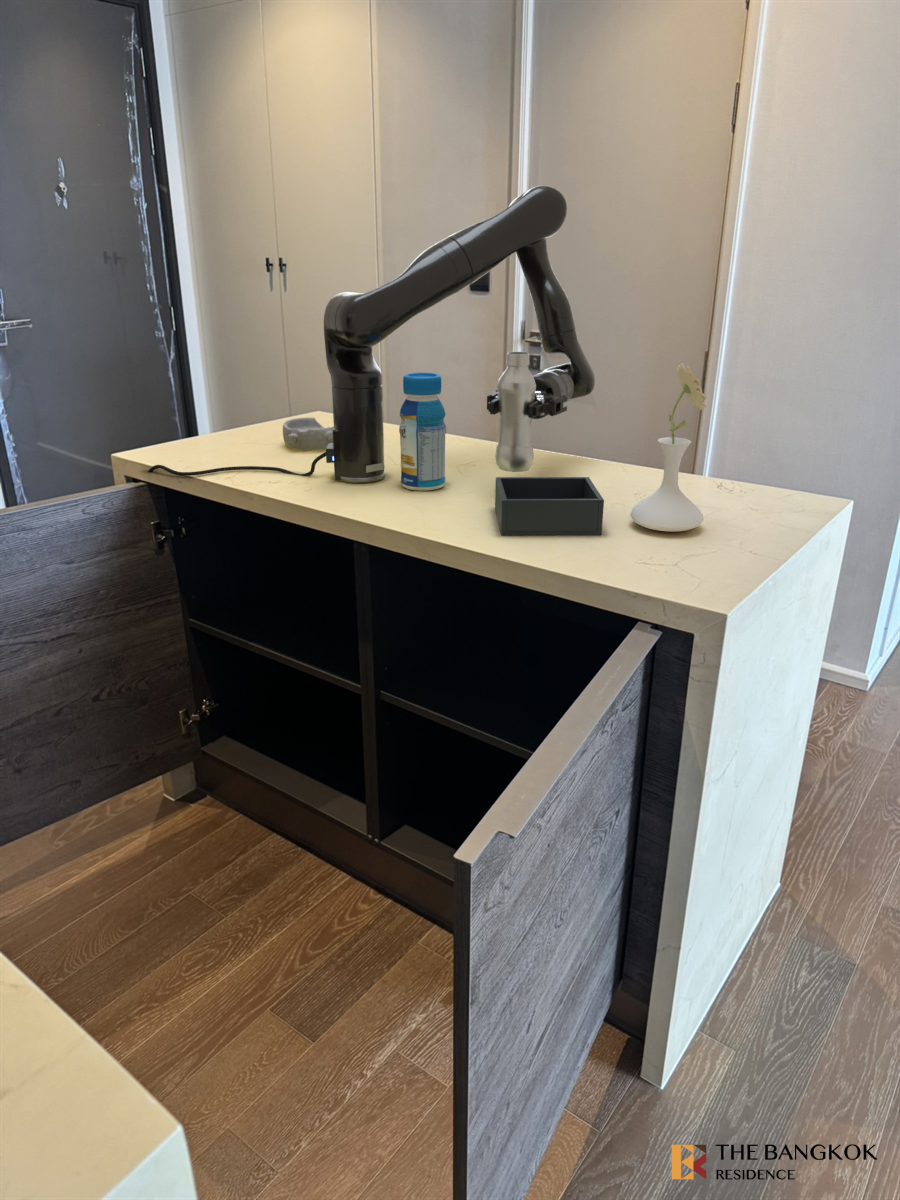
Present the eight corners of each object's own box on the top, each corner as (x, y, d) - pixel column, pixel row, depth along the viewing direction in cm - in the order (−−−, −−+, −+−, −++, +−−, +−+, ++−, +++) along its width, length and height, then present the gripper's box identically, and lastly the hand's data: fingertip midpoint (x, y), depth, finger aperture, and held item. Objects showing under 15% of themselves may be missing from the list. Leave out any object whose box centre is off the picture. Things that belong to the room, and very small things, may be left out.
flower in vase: (701, 541, 131) (723, 372, 121) (625, 534, 134) (640, 369, 124) (702, 516, 142) (722, 360, 133) (632, 510, 145) (646, 357, 136)
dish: (294, 437, 197) (292, 415, 195) (353, 439, 195) (352, 417, 193) (273, 452, 183) (271, 428, 181) (336, 454, 182) (335, 430, 180)
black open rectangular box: (501, 535, 133) (502, 500, 131) (494, 509, 146) (495, 477, 143) (601, 534, 133) (604, 500, 131) (586, 509, 146) (588, 476, 144)
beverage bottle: (439, 493, 155) (439, 379, 147) (394, 490, 156) (391, 377, 149) (450, 481, 162) (451, 372, 154) (407, 478, 164) (406, 370, 156)
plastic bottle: (534, 476, 147) (540, 356, 139) (494, 475, 148) (498, 355, 140) (531, 466, 153) (537, 350, 145) (493, 466, 153) (497, 350, 145)
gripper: (506, 370, 159) (471, 384, 145) (581, 376, 154) (553, 390, 140) (504, 411, 162) (470, 428, 148) (578, 418, 157) (551, 436, 143)
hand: (511, 410), depth 144 cm, fingers closed on plastic bottle, 6 cm apart
